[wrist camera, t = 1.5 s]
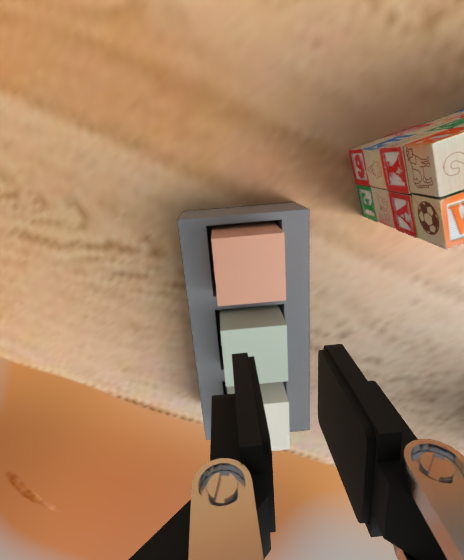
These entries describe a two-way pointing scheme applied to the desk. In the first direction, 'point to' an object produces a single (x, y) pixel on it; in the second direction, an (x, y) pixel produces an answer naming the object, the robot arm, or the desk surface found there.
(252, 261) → the terracotta button
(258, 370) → the sage button
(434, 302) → the desk surface
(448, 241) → the stack of blocks
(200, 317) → the frame
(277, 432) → the cream button
